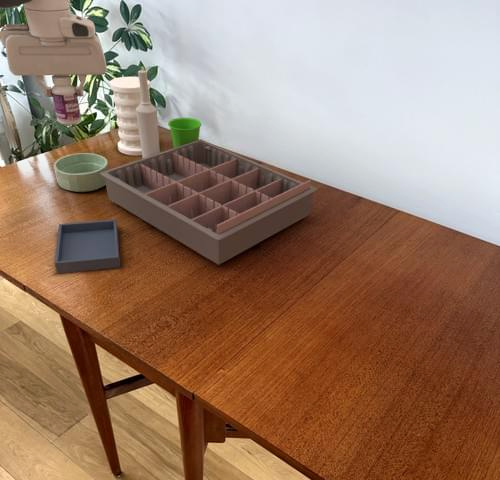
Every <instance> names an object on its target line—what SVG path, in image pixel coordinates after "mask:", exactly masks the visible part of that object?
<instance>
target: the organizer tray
mask: <svg viewBox="0 0 500 480" xmlns="http://www.w3.org/2000/svg"><path fill="white" fill-rule="evenodd" d="M100 174H101V175H102V176H104V177H105V182H106V185H105V186H106V193H107V197H108V200H109V201H111V202H113V203H114V204H116V205H118V206H119V207H121V208H123V209H125V210H126V211H128V212H129V213H131V214H133V215H134V216H136V217H138V218H139V219H141V220H143V221H144V222H146V223H148V224H149V225H151V226H152V227H153V228H156V229H158V230H159V231H161V232H162V233H164V234H166V235H168V236H170V237H171V238H173V239H174V240H176V241H178V242H179V243H181V244H183V245H184V246H186V247H188V248H190V249H191V250H193V251H195V252H196V253H198V254H199V255H201V256H202V257H204V258H206V259H208V260H210V262H213V263H214V264H216V265H218V266H219V265H221V264H223V263H225V262H227V261H229V260H231V259H232V258H234V257H235V256H237V255H239V254H241V253H243V252H245V251H247V250H248V249H250V248H252V247H253V246H254V247H255V246H256V245H257V244H259V243H261V242H262V241H264V240H266V239H268V238H270V237H271V236H273V235H276V234H277V233H279V232H281V231H283V230H284V229H286V228H289V226H291V225H293V224H295V223H298V222H299V221H301V220H302V219H304V218H307V217H308V216H309V215H311V211H312V204H313V197H314V193H315V192H317V191H318V188H316V187H315V186H312V185H311V183H312V180H311V179H309V180H307V181H305V182H303V181H300V180H298V179H296V178H293V177H291V176H289V175H286V174H284V173H281V172H280V171H276V170H274V169H272V168H270V167H267V166H265V165H263V164H260V163H258V162H255V161H253V160H251V159H248V158H246V157H244V156H242V155H240V154H236V153H235V152H233V151H230V150H227V149H226V148H222V147H220V146H218V145H216V144H213V143H210V142H209V141H206V140H204V139H201V138H199V140H197V141H194V142H191V143H188V144H185V145H182V146H179V147H176V148H174V147H173V148H170V149H167V150H164V151H160V153H158V154H155V155H152V156H149V157H146V158H143V157H142V158H140V159H138V160H134V161H131V162H128V163H126V164H122V165H118V166H116V167H113V168H111V169H110V168H109V170H107V171H104V172H101V173H100Z"/></svg>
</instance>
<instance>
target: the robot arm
mask: <svg viewBox="0 0 500 480" xmlns="http://www.w3.org/2000/svg"><path fill="white" fill-rule="evenodd" d="M21 5H23V10H24V14H25V18H26V23H15V24H13V23H5V24H4V25H3V26H1V28H0V42H1V45H2V46H3V47H4V49H5V53H6V60H7V66H8V70H9V72H10V73H11V74H12V75H13V76H18V77H19V76H20V77H21V76H34V77H35V81H36V82H37V83H38V85H39V86H40V87H41V88H42V89H43V92H44V96H45V98H53V96H52V92H51V89H52V86H48V85H47V84H46V83H45V82H44V76H53V75H69V76H78V80H79V81H80V83H79V85H76V86H75V89H76V92H77V93H76V95H77V97H79V98H81V97H84V96H85V95H84V89H83V88H84V86H85V83H86V80H87V79H86V76H104V75H105V74H106V73H107V71H108V67H107V61H106V56H105V52H104V49H103V45H102V42H101V39H100V38H99V37H98V36H97V35H96V27H95V22H94V21H92V20H91V19H88V18H85V17H83V16H80V15H77V14H74V13H71V6H70V3H69V0H0V9H5V10H6V9H9V8H10V9H11V8H13V7H17V6H21Z"/></svg>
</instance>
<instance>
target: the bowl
mask: <svg viewBox="0 0 500 480" xmlns="http://www.w3.org/2000/svg"><path fill="white" fill-rule="evenodd" d="M107 170H110V167H109V160H108V159H107V158H106V157H105V156H102V155H101V154H97V153H91V152H77V153H72V154H68V155H64V156H62V157H60V158H58V159H56V160H55V161H54V162H53V171H54V174H55V178H56V182H57V184H58V186H59V187H60V188H62V189H64V190H67V191H70V192H75V193H87V192H88V193H89V192H93V191H97V190H99V189H101V188H103V187H105V186H106V182H105V177H104V176H102V175H101V174H100V173H101V172H104V171H107Z"/></svg>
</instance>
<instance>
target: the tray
mask: <svg viewBox="0 0 500 480" xmlns="http://www.w3.org/2000/svg"><path fill="white" fill-rule="evenodd" d="M57 230H58V231H57V239H56V247H55V256H54V266H55V270H56V272H57V274H67V273H76V272H77V273H78V272H87V271H88V272H89V271H95V270H97V271H98V270H106V269H108V270H109V269H117V268H121V255H120V242H119V227H118V221H117V219H104V220H92V221H81V222H69V223H68V222H67V223H58V229H57Z"/></svg>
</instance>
